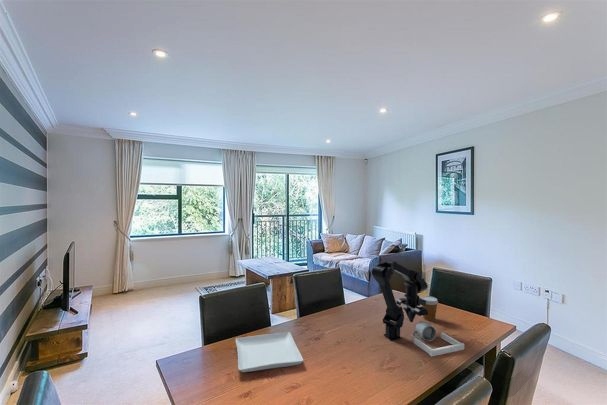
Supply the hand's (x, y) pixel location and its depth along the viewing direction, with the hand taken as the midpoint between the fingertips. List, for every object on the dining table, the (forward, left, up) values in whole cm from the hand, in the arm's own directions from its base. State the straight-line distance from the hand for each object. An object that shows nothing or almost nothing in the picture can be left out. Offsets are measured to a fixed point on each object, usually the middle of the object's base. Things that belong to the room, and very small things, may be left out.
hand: (411, 322), depth 159 cm
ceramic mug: (-1, -10, -4) cm, 11 cm away
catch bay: (0, -18, -4) cm, 19 cm away
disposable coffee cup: (+19, +8, -4) cm, 21 cm away
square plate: (-79, 0, -5) cm, 79 cm away
